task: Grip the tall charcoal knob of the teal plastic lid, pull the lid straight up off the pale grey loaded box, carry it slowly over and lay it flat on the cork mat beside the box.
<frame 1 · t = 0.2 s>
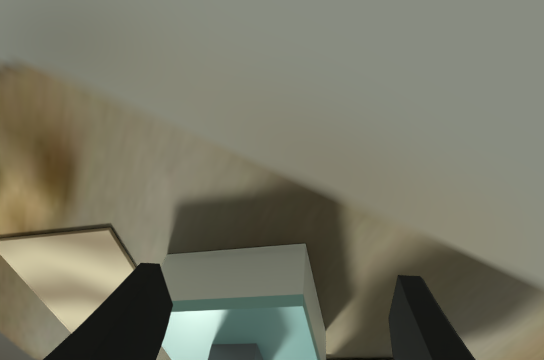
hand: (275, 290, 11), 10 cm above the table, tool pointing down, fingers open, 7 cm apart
cork mat: (96, 295, 30), on the table
lid: (244, 334, 25), point 3 cm above the table, touching storage box
storage box: (251, 295, 28), on the table
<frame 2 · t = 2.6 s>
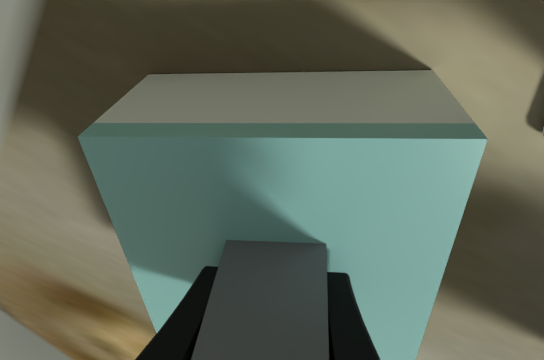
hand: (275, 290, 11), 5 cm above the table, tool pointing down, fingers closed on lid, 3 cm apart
lid: (281, 240, 13), point 3 cm above the table, touching gripper, storage box
storage box: (287, 187, 16), on the table
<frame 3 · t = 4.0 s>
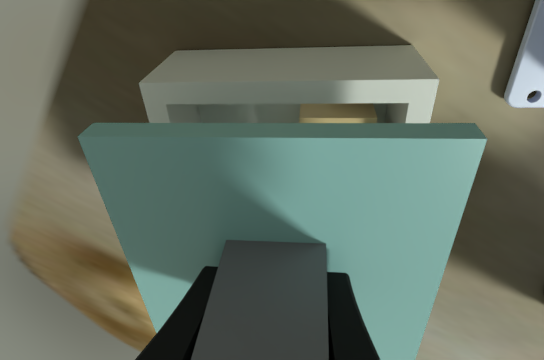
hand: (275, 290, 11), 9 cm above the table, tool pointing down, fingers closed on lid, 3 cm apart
lid: (281, 240, 13), point 6 cm above the table, touching gripper
storage box: (291, 150, 18), on the table
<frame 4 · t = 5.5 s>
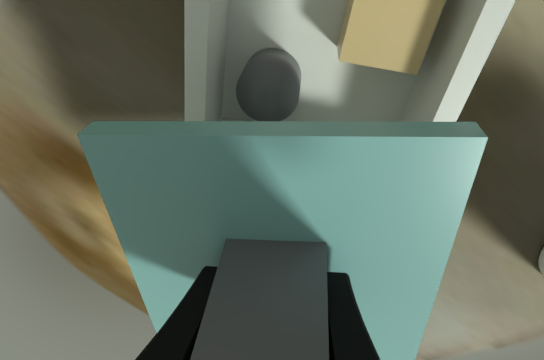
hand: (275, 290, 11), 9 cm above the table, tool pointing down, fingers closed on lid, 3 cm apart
lid: (281, 239, 13), point 7 cm above the table, touching gripper
storage box: (324, 40, 16), on the table
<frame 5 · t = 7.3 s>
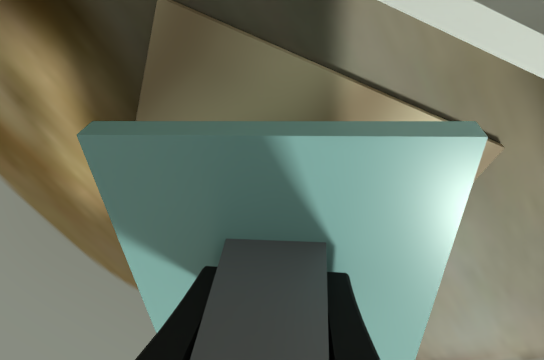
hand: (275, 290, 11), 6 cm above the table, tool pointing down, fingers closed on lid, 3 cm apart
cork mat: (290, 175, 16), on the table
lid: (281, 239, 13), point 4 cm above the table, touching gripper
when the fingers open (4 cm above the table, at t = 8.5 s): lid drops 1 cm, resting on cork mat.
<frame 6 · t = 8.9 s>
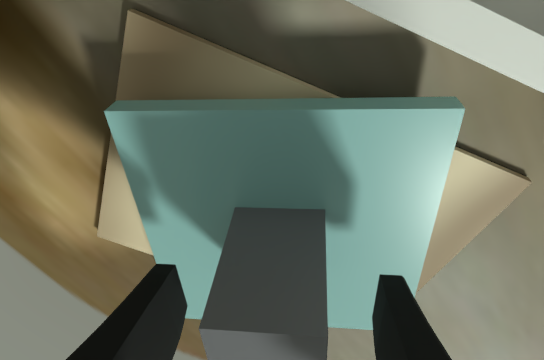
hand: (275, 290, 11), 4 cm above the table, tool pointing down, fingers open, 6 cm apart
cork mat: (285, 208, 14), on the table
lid: (284, 211, 14), resting on cork mat
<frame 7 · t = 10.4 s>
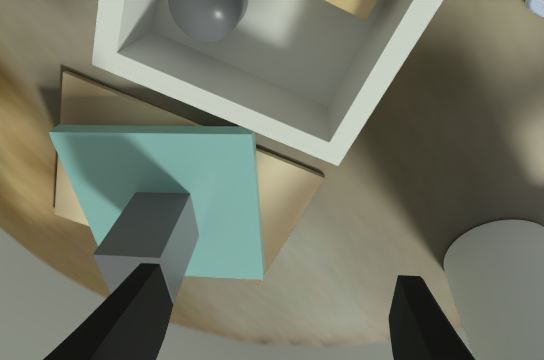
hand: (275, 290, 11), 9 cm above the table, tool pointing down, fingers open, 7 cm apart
cork mat: (179, 194, 21), on the table
lid: (177, 196, 21), resting on cork mat
mug: (526, 247, 21), on the table
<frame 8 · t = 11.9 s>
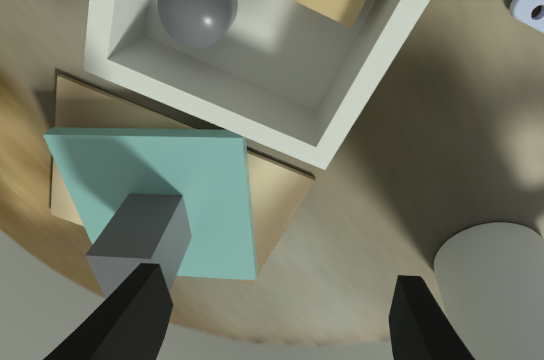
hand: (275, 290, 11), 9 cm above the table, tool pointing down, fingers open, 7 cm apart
cork mat: (173, 195, 22), on the table
lid: (171, 198, 21), resting on cork mat
mug: (515, 249, 22), on the table
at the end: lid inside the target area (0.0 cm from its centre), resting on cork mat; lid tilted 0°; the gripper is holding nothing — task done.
